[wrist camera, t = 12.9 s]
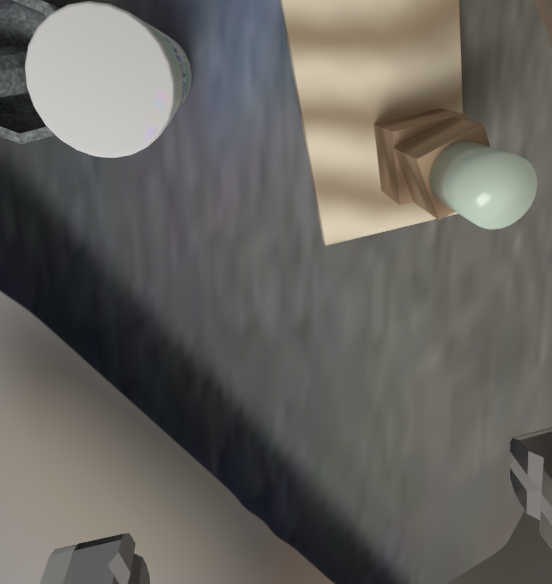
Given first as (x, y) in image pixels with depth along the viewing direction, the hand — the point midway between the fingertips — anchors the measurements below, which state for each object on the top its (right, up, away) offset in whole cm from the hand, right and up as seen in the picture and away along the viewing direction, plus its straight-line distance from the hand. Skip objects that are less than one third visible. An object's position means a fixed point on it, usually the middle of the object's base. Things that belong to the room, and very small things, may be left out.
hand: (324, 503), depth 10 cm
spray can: (-11, +22, +30) cm, 39 cm away
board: (+8, +21, +32) cm, 39 cm away
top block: (+12, +15, +29) cm, 34 cm away
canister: (+12, +13, +24) cm, 30 cm away
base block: (+11, +17, +33) cm, 39 cm away
